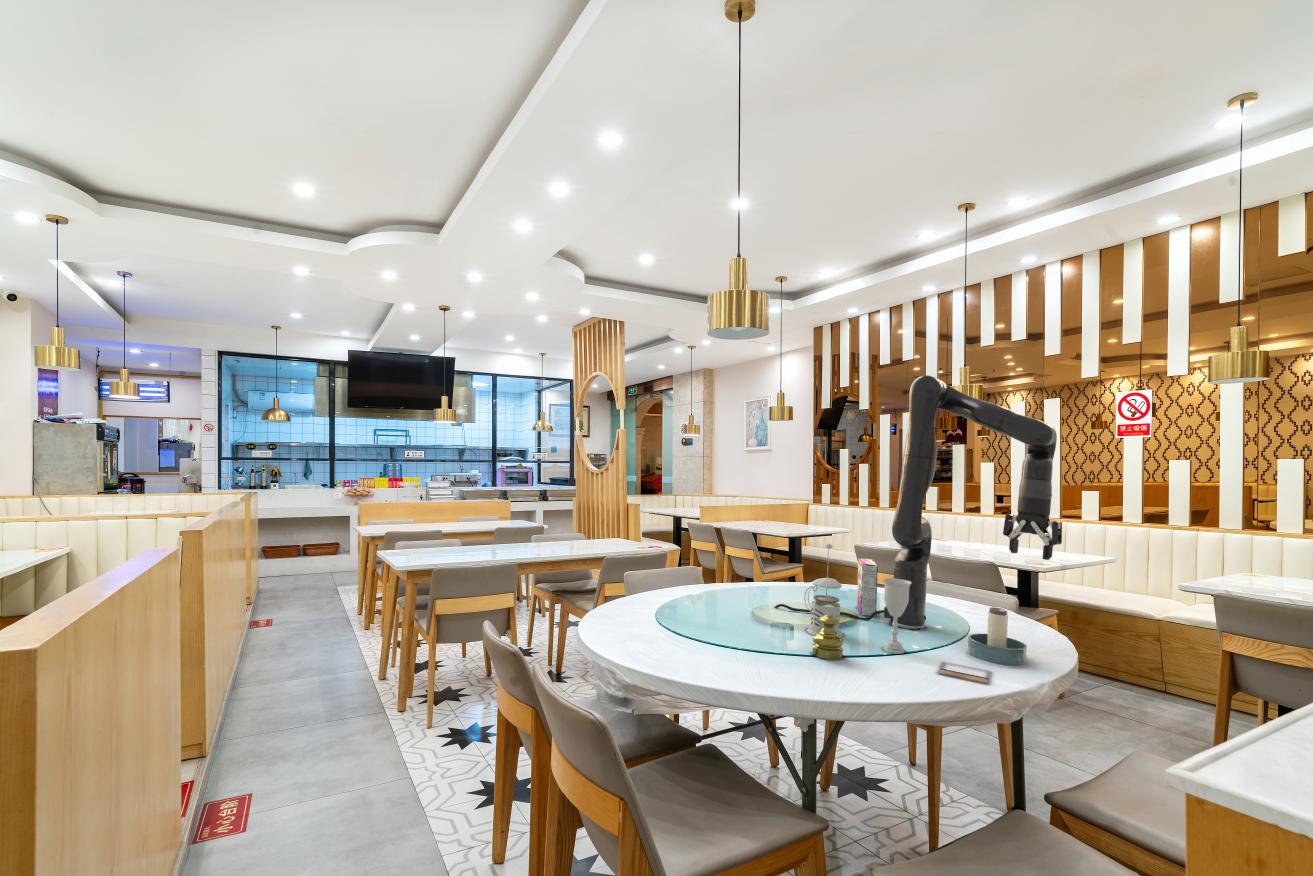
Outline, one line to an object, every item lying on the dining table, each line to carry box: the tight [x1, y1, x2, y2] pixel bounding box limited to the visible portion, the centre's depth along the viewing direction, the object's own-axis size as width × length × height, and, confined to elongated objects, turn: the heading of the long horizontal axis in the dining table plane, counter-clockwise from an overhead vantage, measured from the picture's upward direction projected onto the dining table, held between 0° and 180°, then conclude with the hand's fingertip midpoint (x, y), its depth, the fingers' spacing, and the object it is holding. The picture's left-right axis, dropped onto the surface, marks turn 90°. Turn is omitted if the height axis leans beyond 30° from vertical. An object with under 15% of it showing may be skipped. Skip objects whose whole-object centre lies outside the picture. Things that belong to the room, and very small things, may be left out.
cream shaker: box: [986, 606, 1009, 648], centre depth 158 cm, size 4×4×12 cm
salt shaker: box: [811, 614, 845, 661], centre depth 154 cm, size 7×7×10 cm
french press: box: [803, 543, 844, 638], centre depth 175 cm, size 10×12×25 cm
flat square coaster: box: [938, 668, 989, 685], centre depth 146 cm, size 10×10×1 cm
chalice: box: [882, 577, 911, 655], centre depth 161 cm, size 7×7×18 cm
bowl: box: [967, 632, 1027, 666], centre depth 158 cm, size 13×13×4 cm
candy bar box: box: [856, 558, 879, 618], centre depth 200 cm, size 11×5×16 cm, turn 168°
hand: (1029, 556), depth 166 cm, fingers open, 8 cm apart
